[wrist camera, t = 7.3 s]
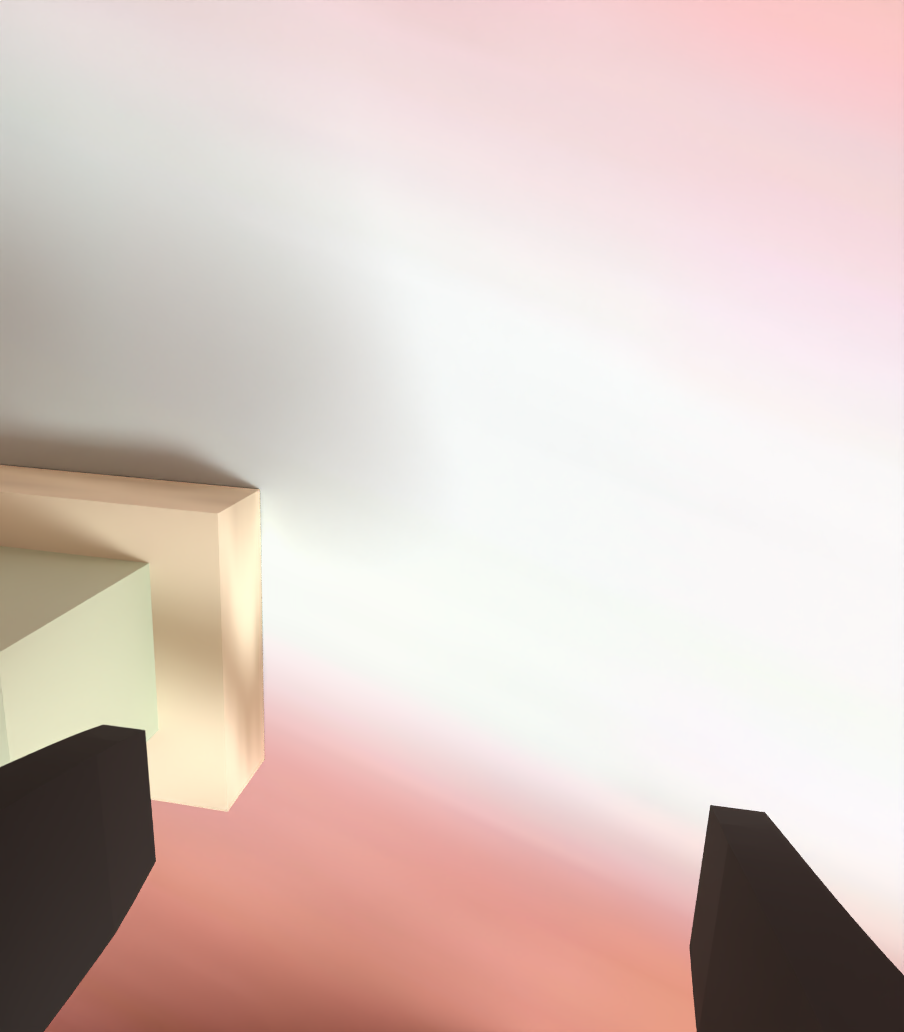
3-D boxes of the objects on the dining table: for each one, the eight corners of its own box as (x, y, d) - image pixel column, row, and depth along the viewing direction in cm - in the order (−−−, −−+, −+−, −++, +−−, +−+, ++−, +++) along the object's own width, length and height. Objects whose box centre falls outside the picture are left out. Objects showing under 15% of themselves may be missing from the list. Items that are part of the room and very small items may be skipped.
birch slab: (264, 759, 22) (227, 811, 20) (13, 722, 24) (-49, 767, 21) (259, 489, 20) (217, 513, 18) (-17, 463, 21) (-90, 482, 19)
